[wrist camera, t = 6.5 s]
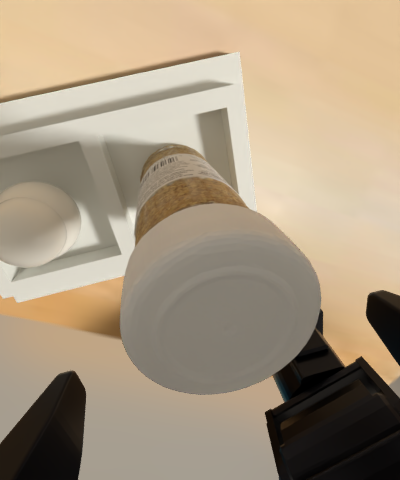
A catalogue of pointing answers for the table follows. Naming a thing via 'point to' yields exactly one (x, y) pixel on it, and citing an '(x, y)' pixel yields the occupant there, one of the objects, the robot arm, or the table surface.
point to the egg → (36, 223)
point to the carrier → (118, 157)
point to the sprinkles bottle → (210, 283)
